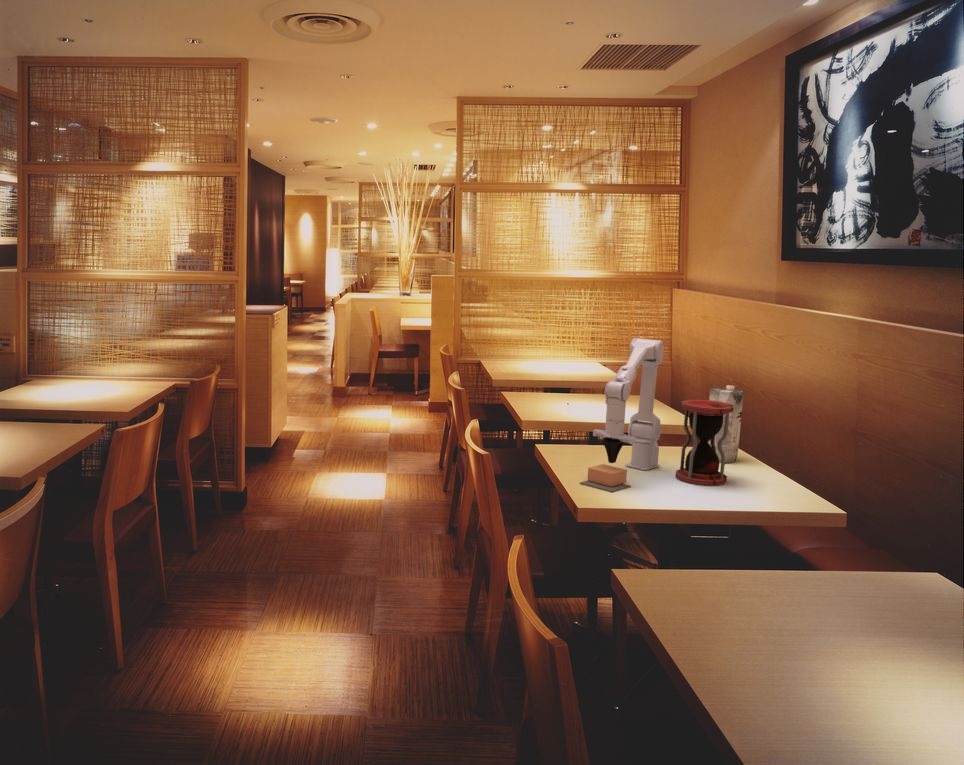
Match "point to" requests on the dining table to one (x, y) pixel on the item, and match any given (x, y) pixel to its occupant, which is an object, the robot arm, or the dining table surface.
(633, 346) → the robot arm
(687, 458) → the hourglass
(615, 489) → the charcoal mat
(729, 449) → the juice carton
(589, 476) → the orange rectangular block
